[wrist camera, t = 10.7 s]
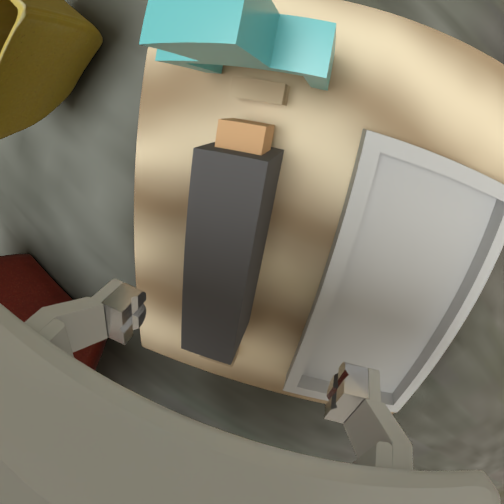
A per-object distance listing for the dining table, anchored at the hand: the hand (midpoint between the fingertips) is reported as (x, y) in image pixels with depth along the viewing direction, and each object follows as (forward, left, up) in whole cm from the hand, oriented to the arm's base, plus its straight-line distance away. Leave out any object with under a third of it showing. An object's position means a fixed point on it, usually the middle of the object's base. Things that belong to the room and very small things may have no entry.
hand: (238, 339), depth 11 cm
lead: (+1, +2, -7) cm, 7 cm away
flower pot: (+12, +17, -8) cm, 22 cm away
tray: (0, -7, -7) cm, 10 cm away
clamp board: (+2, -2, -8) cm, 8 cm away
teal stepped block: (+10, +2, -6) cm, 12 cm away
